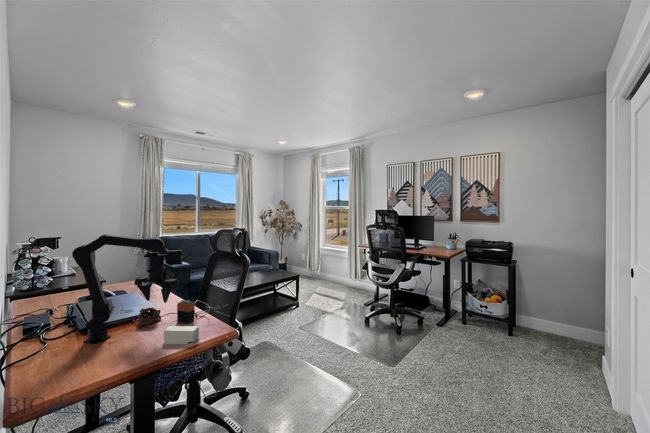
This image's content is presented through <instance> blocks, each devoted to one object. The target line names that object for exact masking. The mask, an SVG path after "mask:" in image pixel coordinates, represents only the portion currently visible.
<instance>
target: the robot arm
mask: <svg viewBox="0 0 650 433" xmlns="http://www.w3.org/2000/svg"><path fill="white" fill-rule="evenodd" d="M106 245H107V246H118V247H126V248H127V247H129V248H138V249H142V250H144V251H147V252H146V253H145V254H144V255H143V258H148V269H146V273H148V276H146V275H145V276H141V277H138V278H135V279H134V286H136V288H138V289H139V290H140V292H141V293H142V295H143V296H144V298H145V300H146V301H147V302H148V301H150V299H151V287H152V286H153V285H159V286H161V288H160V291H161V296H162V300H163V303H165V304H166V303H167V302H168V299H169V297H170V294H171V292H172V290H173V289H174V288H176V287H178V286H179V280H178V279H176V278H174V277H175V272H174V271H168V270H167V267H165V265H168V266H169V267H170V266H181V265H183V255H182V249H177V250H169V248H167V246H165V242H164V239H162V238H161V237H157V236H156V237H144V238H143V237H141V238H140V237H139V238H138V237H129V236H120V235H112V234H102V235H100V236H99V237H98V238H96V239H94V240H93V241H91V242H89V243H88V244H82V245H80V246H78V247H76V248H74V249H73V251H72V254H71V256H72V258H73V259H74V262H75V263H76V265H77V266H79V268H80V269H81V271H82V274H83V277H84V280H85V283H86V288H87V290H88V292H89V296H90V299H91V302H92V303H91V317H90V319H88V321H87V322H86V323H85V325H84V326H85V328H86V330H87V338H86V339H84V340H83V342H84V343H90V344H94V345H95V344H98V343H100V342H102V341H105V340H107V339H109V338H111V337H112V336H111V335H110V334H108V324H107V321H108V320H109V319H110V318H111V316H112V314H113V312H114V309H115V305H113V300H112V299H111V298H110V299H107V298H106V297H105V294H104V289H103V287H102V284H101V280H100V277H99V274H98V270H97V267H96V251H98V250H99V249H101V248H102V247H104V246H106Z"/></svg>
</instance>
